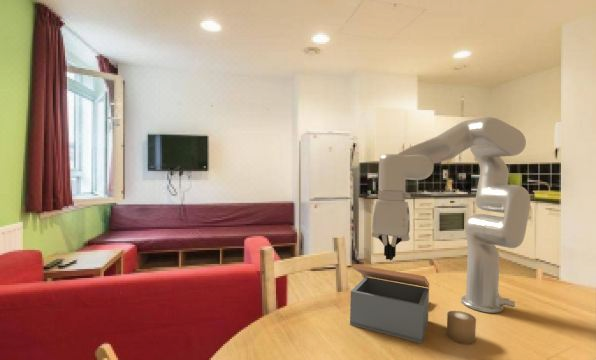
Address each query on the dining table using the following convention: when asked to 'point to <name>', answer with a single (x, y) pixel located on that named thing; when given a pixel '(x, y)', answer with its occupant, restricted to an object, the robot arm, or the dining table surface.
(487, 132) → the robot arm
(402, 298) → the box
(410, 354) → the dining table surface
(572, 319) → the dining table surface
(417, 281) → the lid
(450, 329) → the brown squat cylinder
